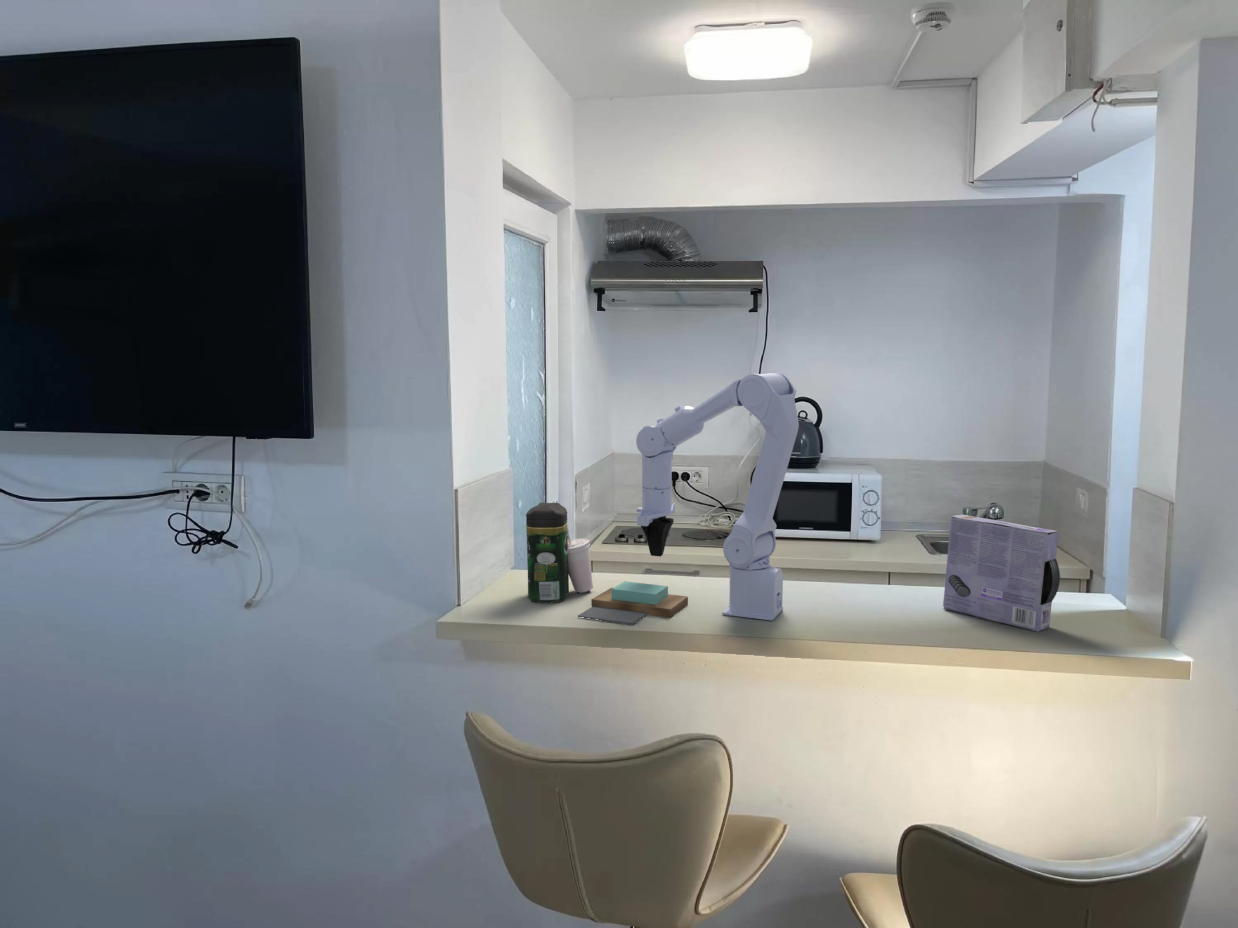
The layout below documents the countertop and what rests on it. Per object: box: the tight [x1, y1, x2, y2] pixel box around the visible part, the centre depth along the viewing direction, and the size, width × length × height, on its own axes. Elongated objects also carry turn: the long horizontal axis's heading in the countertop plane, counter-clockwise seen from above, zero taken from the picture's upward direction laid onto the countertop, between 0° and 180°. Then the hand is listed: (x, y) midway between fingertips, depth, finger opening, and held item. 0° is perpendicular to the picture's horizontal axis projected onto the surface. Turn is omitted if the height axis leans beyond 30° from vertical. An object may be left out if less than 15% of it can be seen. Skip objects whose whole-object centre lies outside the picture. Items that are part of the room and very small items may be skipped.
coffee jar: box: [525, 502, 570, 604], centre depth 180 cm, size 10×8×19 cm
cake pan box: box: [942, 514, 1061, 633], centre depth 165 cm, size 19×5×18 cm, turn 41°
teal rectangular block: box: [611, 581, 669, 605], centre depth 175 cm, size 9×6×2 cm, turn 65°
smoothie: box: [567, 524, 594, 594], centre depth 184 cm, size 6×6×14 cm
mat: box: [577, 606, 648, 626], centre depth 168 cm, size 11×7×1 cm, turn 65°
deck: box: [590, 587, 689, 619], centre depth 175 cm, size 16×9×2 cm, turn 65°
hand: (656, 555), depth 181 cm, fingers closed
